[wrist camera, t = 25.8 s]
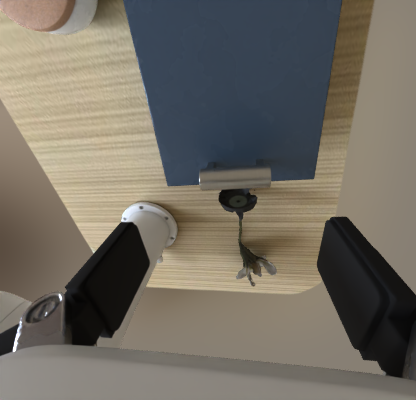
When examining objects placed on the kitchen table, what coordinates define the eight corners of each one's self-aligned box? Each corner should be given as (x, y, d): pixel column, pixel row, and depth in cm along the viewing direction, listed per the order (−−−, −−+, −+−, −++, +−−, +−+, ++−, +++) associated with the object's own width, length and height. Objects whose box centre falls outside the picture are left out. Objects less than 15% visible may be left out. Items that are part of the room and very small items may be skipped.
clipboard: (311, 176, 19) (332, 201, 15) (169, 183, 22) (152, 207, 17) (351, -91, 11) (422, -203, 7) (120, -29, 14) (66, -82, 9)
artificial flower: (261, 177, 36) (288, 210, 28) (260, 254, 49) (277, 292, 41) (214, 187, 36) (227, 223, 27) (225, 262, 49) (236, 302, 41)
